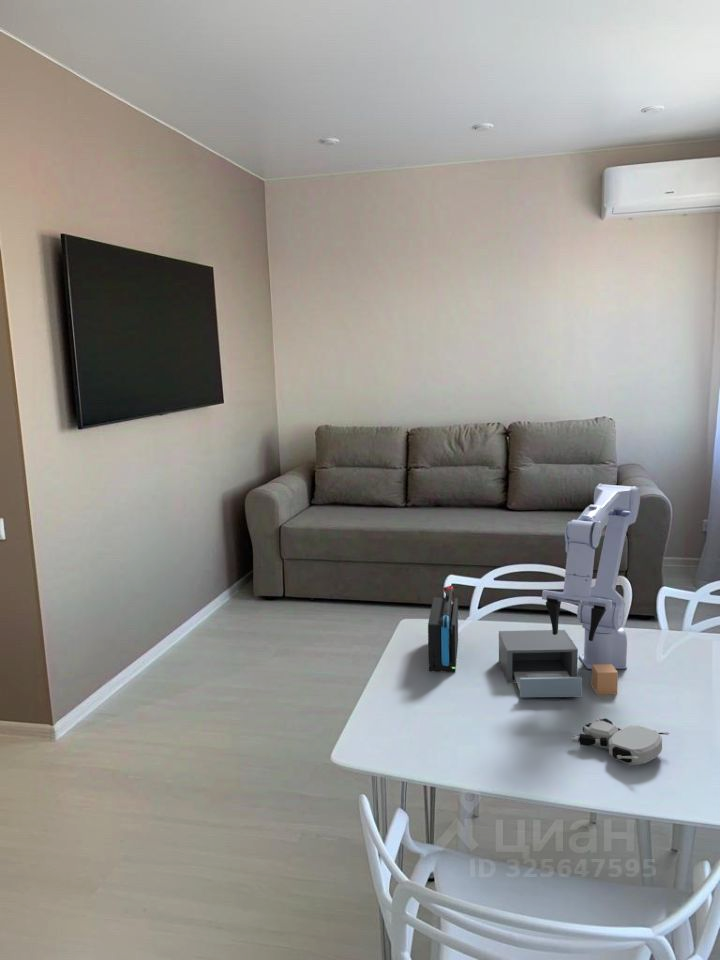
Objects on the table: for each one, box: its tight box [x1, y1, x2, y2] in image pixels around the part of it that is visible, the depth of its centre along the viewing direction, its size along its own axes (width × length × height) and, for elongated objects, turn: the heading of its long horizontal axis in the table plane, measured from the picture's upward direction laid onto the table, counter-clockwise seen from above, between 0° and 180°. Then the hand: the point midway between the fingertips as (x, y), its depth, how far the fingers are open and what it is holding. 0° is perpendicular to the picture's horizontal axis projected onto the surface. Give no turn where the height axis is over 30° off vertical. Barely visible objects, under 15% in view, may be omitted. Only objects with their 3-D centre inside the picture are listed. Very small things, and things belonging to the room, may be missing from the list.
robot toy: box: [570, 718, 670, 766], centre depth 140 cm, size 12×4×15 cm
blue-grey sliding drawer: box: [513, 671, 583, 698], centre depth 166 cm, size 13×12×4 cm
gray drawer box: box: [498, 629, 579, 684], centre depth 175 cm, size 16×12×8 cm
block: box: [591, 664, 619, 695], centre depth 165 cm, size 4×4×5 cm
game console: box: [427, 585, 459, 673], centre depth 185 cm, size 28×6×15 cm, turn 171°
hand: (572, 637), depth 161 cm, fingers open, 7 cm apart
